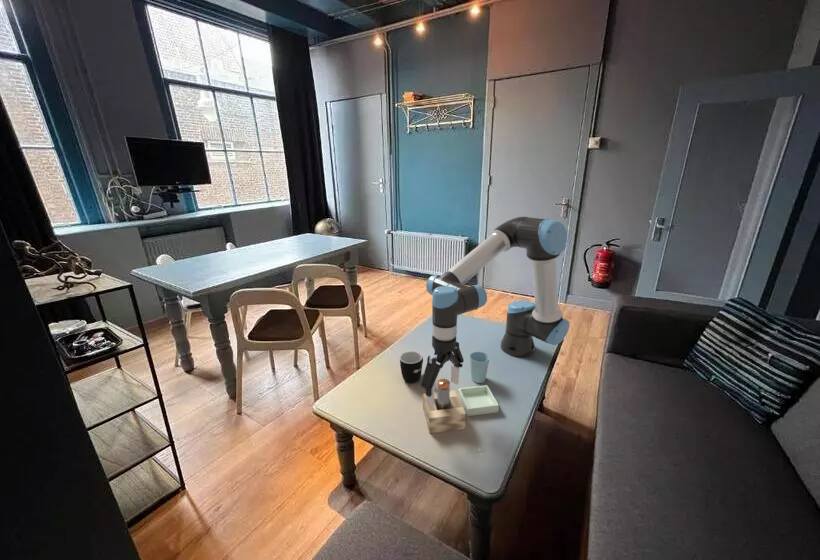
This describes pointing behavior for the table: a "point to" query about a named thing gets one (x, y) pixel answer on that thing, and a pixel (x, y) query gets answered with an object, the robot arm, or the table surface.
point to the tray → (478, 400)
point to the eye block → (445, 414)
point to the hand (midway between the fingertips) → (443, 392)
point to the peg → (443, 394)
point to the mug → (411, 366)
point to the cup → (479, 366)
